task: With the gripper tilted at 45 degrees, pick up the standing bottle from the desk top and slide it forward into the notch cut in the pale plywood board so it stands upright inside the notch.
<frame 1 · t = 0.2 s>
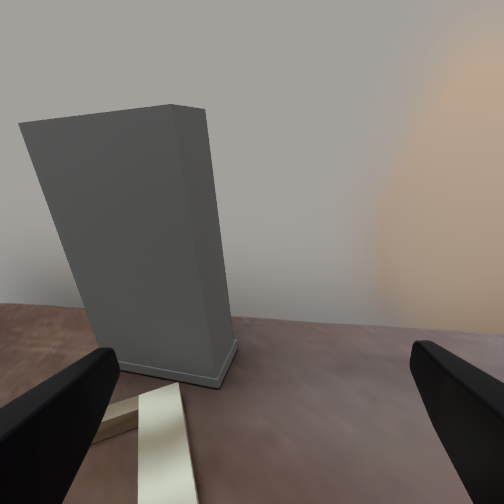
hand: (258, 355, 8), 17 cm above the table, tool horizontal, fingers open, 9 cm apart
notched board: (94, 485, 20), on the table
cassette tape recorder: (173, 359, 32), on the table
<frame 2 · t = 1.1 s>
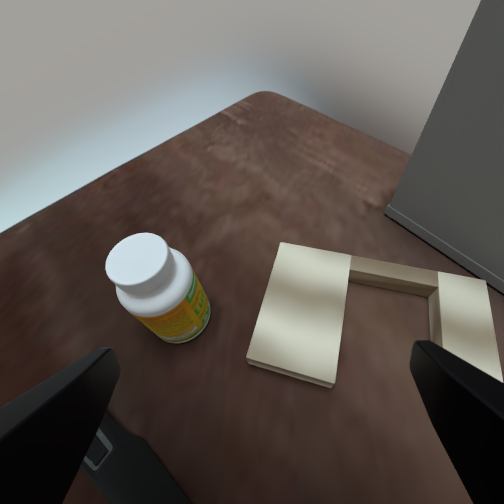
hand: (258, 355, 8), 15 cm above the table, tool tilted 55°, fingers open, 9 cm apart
supplement bottle: (183, 315, 26), on the table
electric trimmer: (119, 448, 20), on the table
notched board: (383, 325, 23), on the table
cassette tape recorder: (461, 240, 27), on the table
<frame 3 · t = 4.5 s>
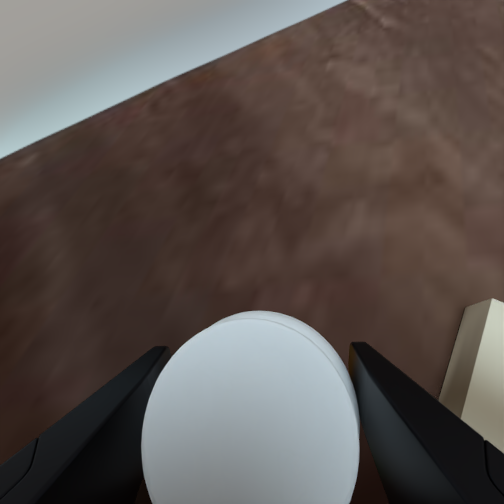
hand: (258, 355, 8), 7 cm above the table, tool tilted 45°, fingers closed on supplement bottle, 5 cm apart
supplement bottle: (268, 391, 14), on the table, touching gripper
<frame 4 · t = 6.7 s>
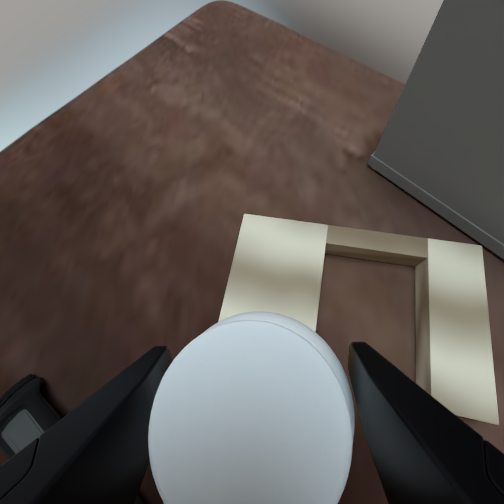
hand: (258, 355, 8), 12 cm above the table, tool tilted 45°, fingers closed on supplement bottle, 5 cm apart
supplement bottle: (267, 388, 14), point 5 cm above the table, touching gripper
electric trimmer: (88, 460, 19), on the table
notched board: (364, 303, 21), on the table
cassette tape recorder: (455, 192, 23), on the table
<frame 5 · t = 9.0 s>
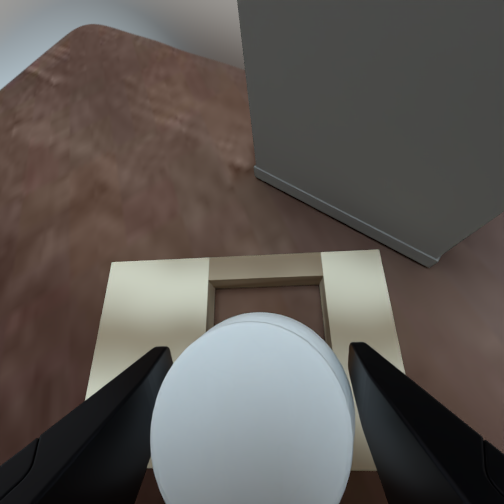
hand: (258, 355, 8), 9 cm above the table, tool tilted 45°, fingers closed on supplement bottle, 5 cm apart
supplement bottle: (268, 388, 14), point 2 cm above the table, touching gripper
notched board: (268, 341, 17), on the table
cassette tape recorder: (352, 191, 21), on the table
when the fingers open (8 cm above the table, at t = 10.8 s): supplement bottle drops 1 cm, on the table.
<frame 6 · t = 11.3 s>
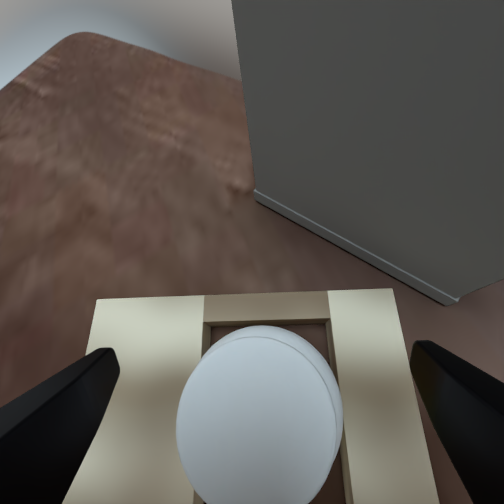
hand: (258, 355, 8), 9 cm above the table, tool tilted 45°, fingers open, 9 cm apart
supplement bottle: (269, 391, 16), on the table
notched board: (269, 388, 16), on the table
cassette tape recorder: (360, 216, 20), on the table
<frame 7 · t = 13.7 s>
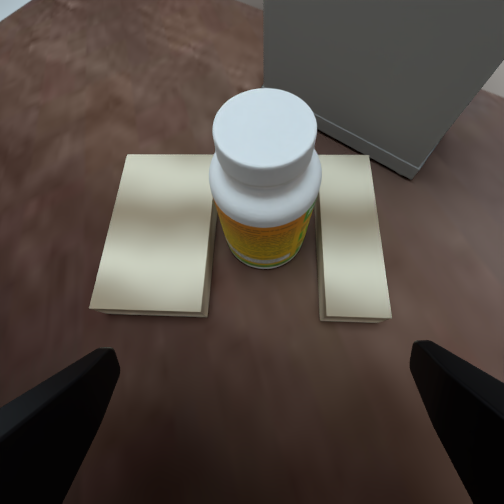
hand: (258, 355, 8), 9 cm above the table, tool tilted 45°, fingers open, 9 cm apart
supplement bottle: (264, 235, 20), on the table
notched board: (265, 231, 20), on the table
cassette tape recorder: (349, 117, 23), on the table
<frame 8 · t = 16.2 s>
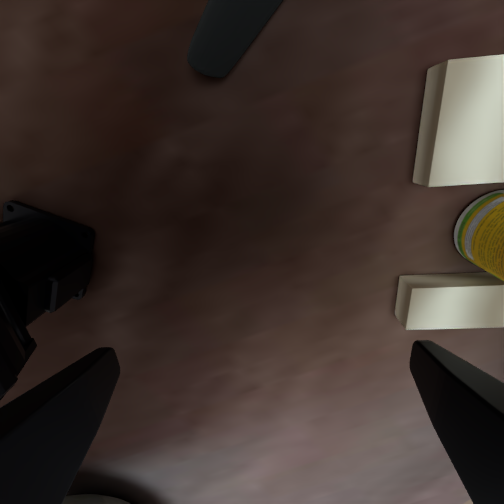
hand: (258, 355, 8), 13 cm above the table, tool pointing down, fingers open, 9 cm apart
supplement bottle: (489, 226, 20), on the table
notched board: (494, 227, 19), on the table
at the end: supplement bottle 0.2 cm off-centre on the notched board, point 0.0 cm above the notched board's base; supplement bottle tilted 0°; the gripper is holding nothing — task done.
